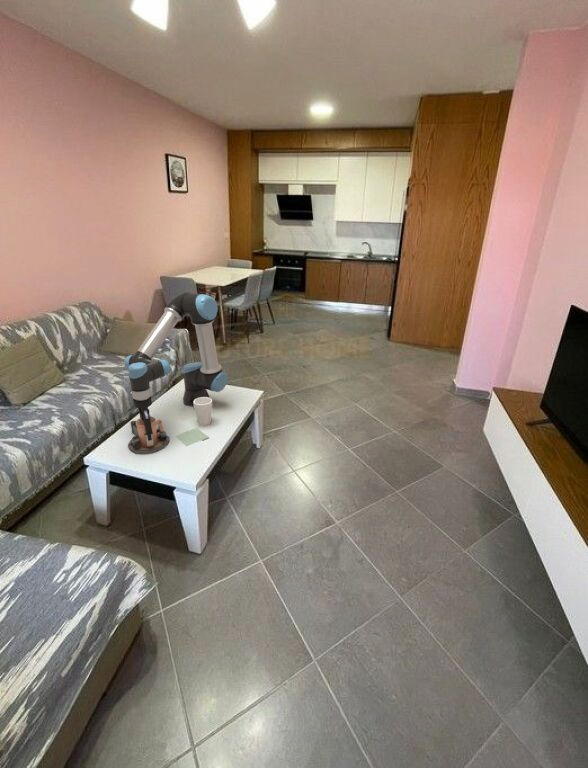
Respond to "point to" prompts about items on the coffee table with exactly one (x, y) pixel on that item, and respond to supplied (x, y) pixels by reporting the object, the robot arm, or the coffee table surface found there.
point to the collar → (136, 442)
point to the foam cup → (203, 410)
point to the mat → (192, 436)
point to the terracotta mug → (142, 431)
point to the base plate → (151, 447)
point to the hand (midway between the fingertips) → (148, 440)
